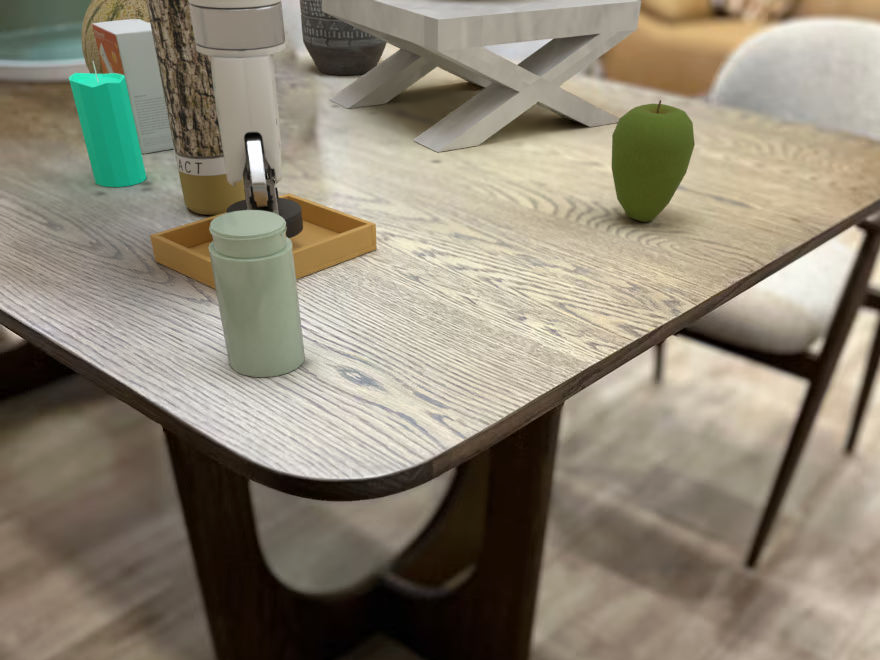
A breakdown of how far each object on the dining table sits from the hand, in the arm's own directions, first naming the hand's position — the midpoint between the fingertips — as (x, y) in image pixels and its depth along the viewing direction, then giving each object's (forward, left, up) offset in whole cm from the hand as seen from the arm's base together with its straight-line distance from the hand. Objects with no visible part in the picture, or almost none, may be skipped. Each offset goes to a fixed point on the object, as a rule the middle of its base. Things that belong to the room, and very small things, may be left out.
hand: (267, 243), depth 82 cm
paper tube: (+5, +15, -1) cm, 16 cm away
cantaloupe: (+24, +57, -1) cm, 62 cm away
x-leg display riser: (+57, +23, -1) cm, 62 cm away
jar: (-14, -17, -1) cm, 22 cm away
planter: (+63, +56, -1) cm, 84 cm away
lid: (0, 0, +3) cm, 3 cm away
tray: (0, 0, -1) cm, 1 cm away
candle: (+3, +31, -1) cm, 31 cm away
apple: (+35, -21, -1) cm, 41 cm away
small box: (+14, +41, -1) cm, 43 cm away
